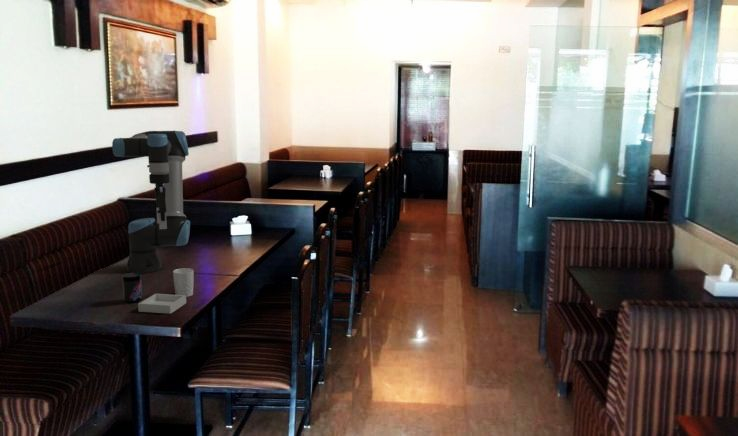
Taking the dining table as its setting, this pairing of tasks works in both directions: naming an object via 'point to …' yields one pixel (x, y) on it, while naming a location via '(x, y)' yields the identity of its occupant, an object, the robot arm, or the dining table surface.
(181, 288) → the white cup
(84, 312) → the dining table surface
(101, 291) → the dining table surface
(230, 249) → the dining table surface
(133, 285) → the supplement container
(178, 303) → the tray
